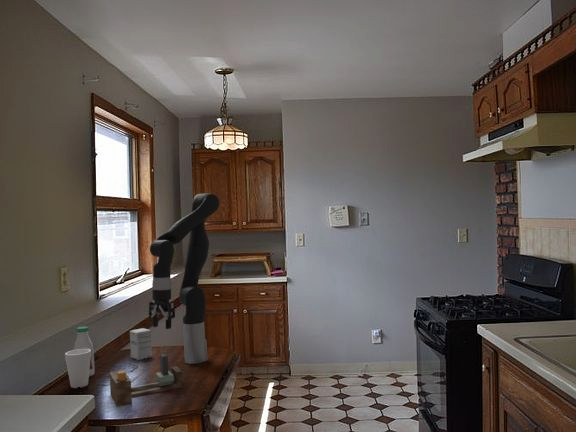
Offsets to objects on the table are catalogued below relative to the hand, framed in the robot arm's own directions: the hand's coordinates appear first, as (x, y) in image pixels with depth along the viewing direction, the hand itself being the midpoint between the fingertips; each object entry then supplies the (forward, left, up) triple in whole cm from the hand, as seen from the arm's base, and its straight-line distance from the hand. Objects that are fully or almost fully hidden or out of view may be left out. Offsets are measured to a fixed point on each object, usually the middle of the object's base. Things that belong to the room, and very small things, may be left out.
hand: (161, 327), depth 208 cm
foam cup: (+32, -4, -19) cm, 37 cm away
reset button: (+20, +27, -12) cm, 36 cm away
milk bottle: (+29, -17, -19) cm, 38 cm away
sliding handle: (+4, +19, -17) cm, 26 cm away
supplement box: (+3, -32, -19) cm, 37 cm away
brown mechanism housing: (+11, +23, -19) cm, 31 cm away
